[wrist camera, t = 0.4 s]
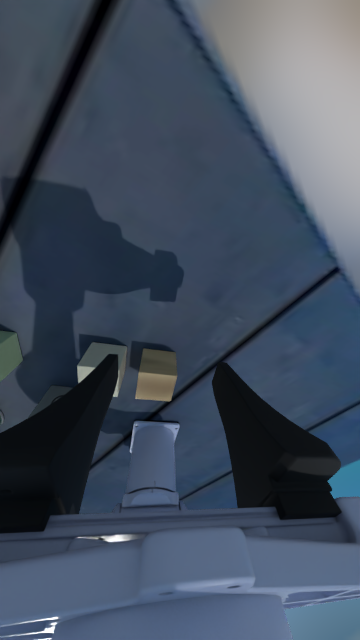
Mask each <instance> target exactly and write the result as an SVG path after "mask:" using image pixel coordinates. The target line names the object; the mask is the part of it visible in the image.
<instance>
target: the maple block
mask: <svg viewBox="0 0 360 640" xmlns="http://www.w3.org/2000/svg"><path fill="white" fill-rule="evenodd" d="M176 379H177V366H176V353H175V352H168V351H160V350H152V349H143V353H142V358H141V363H140V369H139V375H138V382H137V389H136V396H135V398H136V399H147V400H160V401H171V397H172V394H173V390H174V386H175V383H176Z"/></svg>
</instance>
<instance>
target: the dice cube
mask: <svg viewBox="0 0 360 640" xmlns="http://www.w3.org/2000/svg"><path fill="white" fill-rule="evenodd" d="M71 389H72V388H71V387H63V386H54V385H51V387H50V388H49V389H48V391H47V392H46V394H45V395H44V396H43V398H42V399H41V401H40V402H39V403H38V405H37V406H36V407H35V409H34V410H33V412H32V413H31V414H30V416H29V417H28V418H30V417H31V416H33V415H35V414H36V413H38V412H40V411H41V410H43V409H44V408H46V407H47V406H49V405H50V404H52V403H53V402H55V401H56V400H58V399H59V398H61V397H62V396H63V395H65V394H66V393H67V392H69V391H70V390H71Z"/></svg>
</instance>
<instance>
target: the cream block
mask: <svg viewBox="0 0 360 640" xmlns="http://www.w3.org/2000/svg"><path fill="white" fill-rule="evenodd" d="M108 354H118V380H117V384H116V388H115V392H114V394H113V397H118V394H119V390H120V387H121V383H122V380H123V376H124V373H125V365H126V354H127V346H119V345H111V344H103V343H95V342H92V343H91V345H90V346H89V348H88V349H87V351H86V353H85V354H84V356H83V357H82V359H81V360H80V362H79V364H78V365H77V372H78V383H79V382H81V381H82V380H83V379H84V378H85V377H86V376H87V375H88V374H89V373H91V372H92V371H93V370H94V369H95V368H96V367H97V366H98V365H99V364H100V363H101V361H102V360H103V359H104V358H105V357H106V356H107V355H108Z"/></svg>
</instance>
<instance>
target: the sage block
mask: <svg viewBox="0 0 360 640" xmlns="http://www.w3.org/2000/svg"><path fill="white" fill-rule="evenodd" d="M22 361H23V358H22V354H21V350H20V345H19V341H18V337H17V333H15V332H7V331H0V382H1V381H2V380H3V379H4V378H5V377H6V376H7V375H8V374H9V373H10V372H11V371H13V370H14V369H15V368H16V367H17V366H18V365H19V364H20V363H21V362H22Z"/></svg>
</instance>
